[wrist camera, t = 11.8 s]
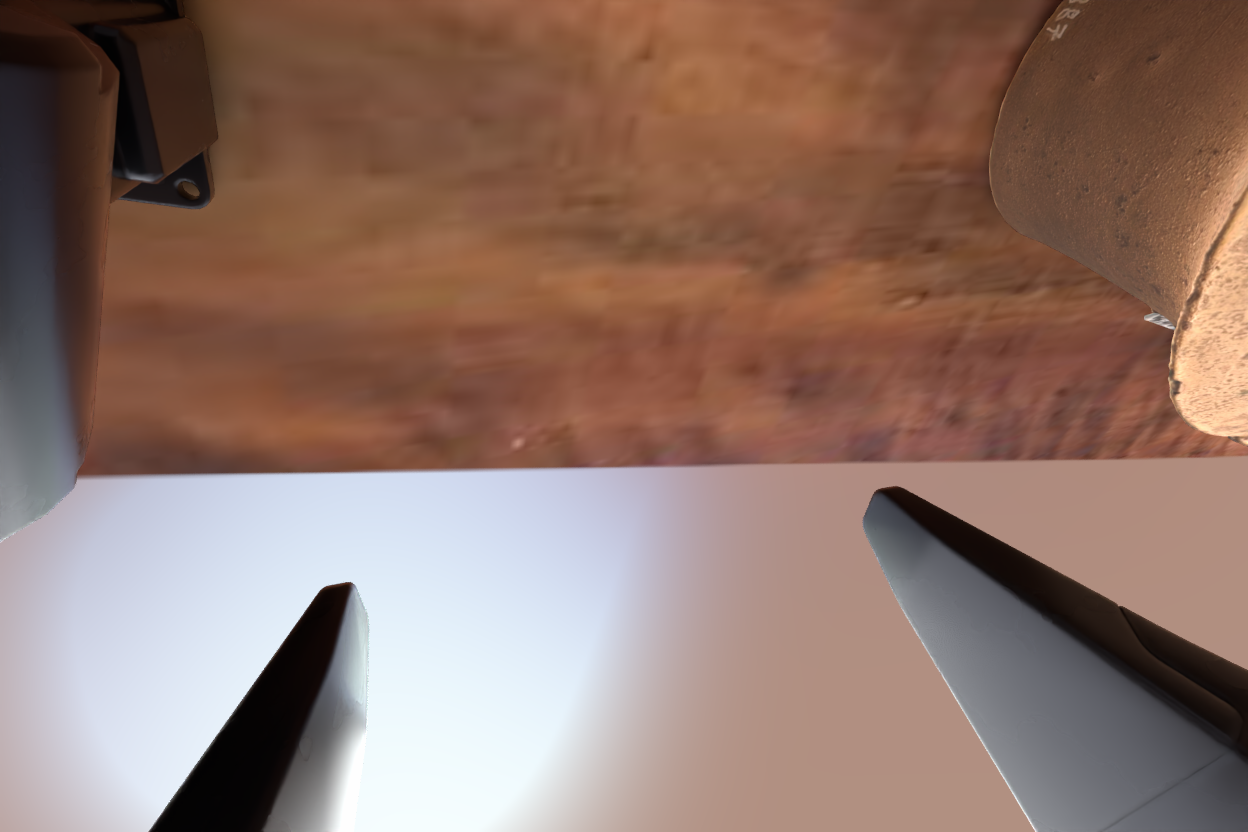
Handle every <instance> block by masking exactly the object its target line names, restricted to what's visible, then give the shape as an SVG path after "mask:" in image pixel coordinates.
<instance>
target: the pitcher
mask: <svg viewBox="0 0 1248 832" xmlns="http://www.w3.org/2000/svg"><path fill="white" fill-rule="evenodd" d="M989 168H990V169H989V175H990V186H991V190H992V195H993V197H994V201H995V204H996V207H997V208H998V210H999V212H1000V214H1001V215H1002V217H1003V218H1004V219H1005V221H1006V222H1007V223H1008V224H1009V225H1010V226H1011V227H1012V228H1013V229H1015V230H1016V231H1017V232H1019V233H1020V234H1022V235H1024V236H1026V237H1028V238H1031V239H1033V240H1037V241H1039V242H1041V243H1043V244H1045V245H1047V246H1049V247H1051V248H1053V249H1055V250H1057V251H1059V252H1061V253H1063V254H1065V255H1067V256H1068V257H1070V258H1072V259H1074V260H1076V261H1078V262H1079V263H1081V264H1082V265H1084V266H1086V267H1088V268H1089V269H1091V270H1092V271H1094V272H1096V273H1097V274H1099V275H1101V276H1102V277H1104V278H1106V279H1108V280H1109V281H1110V282H1112V283H1114V284H1115V285H1117V286H1118V287H1120V288H1122V289H1123V290H1125V291H1127V292H1128V293H1130V294H1131V295H1132V296H1134V297H1136V298H1138V299H1139V300H1141V301H1142V302H1144V303H1145V304H1147V305H1148V306H1149V307H1151V311H1152V312H1153V313H1158V314H1160V315H1162V316H1164V317H1165V318H1167V319H1168V320H1169V321H1170V322H1171V323H1172V324H1173V326H1174V327H1175V328H1176V329H1175V331H1174V335H1173V340H1172V343H1171V357H1170V360H1171V361H1170V363H1169V365H1168V366H1169V368H1170V369H1169V370H1170V372H1169V378H1168V380H1169V383H1170V397H1171V399H1172V401H1173V405H1174V406H1175V408H1176V410H1177V412H1178V414H1179V415H1180V417H1181V418H1182V419H1183V420H1184V421H1185V423H1186V424H1187V425H1188V426H1190V427H1191V428H1193V429H1196V430H1198V431H1200V432H1202V433H1207V434H1210V435H1217V436H1228V438H1229V439H1231V440H1233V441H1235V442H1237V443H1240V444H1242V445H1245V446H1248V0H1064V1H1063V2H1062V3H1061V4H1060V5H1059V6H1058V8H1057V9H1056V10H1055V12H1054V13H1053V15H1052V16H1051V17H1050V18H1049V19H1048V20H1047V22H1046V24H1045V26H1044V27H1043V29H1042V30H1041V31H1040V32H1039V34H1038V36H1037V37H1036V38H1035V40H1034V42H1033V43H1032V44H1031V46H1030V48H1029V49H1028V51H1027V52H1026V55H1025V56H1024V58H1023V60H1022V62H1021V64H1020V66H1019V68H1018V70H1017V72H1016V74H1015V77H1014V78H1013V80H1012V82H1011V84H1010V86H1009V88H1008V90H1007V92H1006V96H1005V98H1004V100H1003V102H1002V106H1001V109H1000V113H999V118H998V121H997V125H996V127H995V132H994V138H993V143H992V147H991V150H990V161H989Z"/></svg>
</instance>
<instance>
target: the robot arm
mask: <svg viewBox="0 0 1248 832" xmlns="http://www.w3.org/2000/svg"><path fill="white" fill-rule="evenodd" d="M217 139H218V132H217V126H216V119H215V113H214V107H213V100H212V94H211V88H210V82H209V75H208V69H207V63H206V57H205V50H204V44H203V38H202V33H201V31H200V30H199V29H198V28H197V26H196V25H195V24H194V23H193V22H192V21H191V20H190V19H189V18H185V14H184V9H183V3H182V0H0V542H2V541H3V540H5V539H7V538H8V537H10V536H12V535H13V534H15V533H17V532H18V531H20V530H22V529H23V528H25V527H27V526H28V525H30V524H32V523H33V522H35V521H37V520H38V519H40V518H42V517H43V516H45V515H47V514H48V513H49V512H50V511H51V510H52V509H53V508H54V507H55V506H56V505H57V504H58V503H59V502H60V501H61V500H62V499H63V498H64V497H65V496H66V495H67V494H69V492H71V491H72V490H73V489H74V487H75V484H76V480H77V471H78V469H79V468H80V466H81V465H82V464H83V462H84V459H85V455H86V451H87V447H88V443H89V439H90V435H91V431H92V428H93V417H94V404H95V391H96V378H97V365H98V352H99V338H100V325H101V312H102V299H103V286H104V273H105V260H106V246H107V233H108V220H109V207H110V204H111V203H112V202H114V201H115V200H117V199H120V200H128V201H135V202H143V203H150V204H158V205H165V206H173V207H180V208H188V209H201V208H203V207H205V206H207V205H208V204H209V203H210V202H211V200H212V199H213V197H214V184H213V178H212V172H211V166H210V160H209V154H208V149H207V148H208V147H209V146H210V145H212V144H213V143H214V142H215V141H216V140H217ZM182 181H188V182H191V183H193V184H194V185H195V186H196V187H197V188H198V190H199V192H200V194H199V196H193V195H190V194H189V193H187V192H186V191H185V190H184V188H183V186H182ZM863 528H864V532H865V534H866V536H867V538H868V540H869V543H870V544H871V547H872V549H873V551H874V553H875V555H876V557H877V559H878V561H879V564H880V566H881V568H882V570H883V572H884V574H885V576H886V578H887V580H888V582H889V585H890V587H891V589H892V591H893V593H894V595H895V597H896V599H897V600H898V603H899V605H900V606H901V608H902V610H903V612H904V613H905V615H906V617H907V619H908V620H909V622H910V624H911V625H912V627H913V629H914V630H915V632H916V634H917V635H918V637H919V638H920V640H921V642H922V643H923V645H924V647H925V648H926V650H927V652H928V653H929V655H930V656H931V658H932V660H933V662H934V663H935V665H936V667H937V668H938V670H939V672H940V673H941V675H942V677H943V678H944V680H945V682H946V683H947V685H948V687H949V688H950V690H951V691H952V693H953V695H954V697H955V698H956V700H957V702H958V703H959V705H960V707H961V708H962V710H963V712H964V713H965V715H966V717H967V718H968V720H969V721H970V723H971V725H972V726H973V728H974V730H975V732H976V733H977V735H978V737H979V738H980V740H981V742H982V743H983V745H984V747H985V748H986V750H987V752H988V753H989V755H990V756H991V758H992V760H993V761H994V763H995V765H996V766H997V768H998V770H999V771H1000V773H1001V775H1002V776H1003V778H1004V780H1005V781H1006V783H1007V785H1008V786H1009V788H1010V790H1011V791H1012V793H1013V795H1014V796H1015V798H1016V800H1017V801H1018V803H1019V805H1020V806H1021V808H1022V810H1023V811H1024V813H1025V815H1026V816H1027V818H1028V820H1029V821H1030V823H1031V825H1032V826H1033V828H1034V830H1035V831H1036V832H1248V670H1247V669H1244V668H1242V667H1240V666H1238V665H1236V664H1234V663H1232V662H1230V661H1228V660H1226V659H1224V658H1222V657H1220V656H1218V655H1215V654H1214V653H1212V652H1209V651H1207V650H1205V649H1203V648H1201V647H1199V646H1197V645H1195V644H1193V643H1191V642H1189V641H1187V640H1185V639H1183V638H1181V637H1179V636H1178V635H1176V634H1174V633H1172V632H1170V631H1168V630H1166V629H1164V628H1162V627H1160V626H1158V625H1156V624H1154V623H1153V622H1151V621H1149V620H1147V619H1145V618H1143V617H1141V616H1139V615H1137V614H1136V613H1134V612H1132V611H1130V610H1128V609H1127V608H1125V607H1123V606H1118V605H1117V604H1116V603H1115V602H1113V601H1111V600H1109V599H1108V598H1106V597H1104V596H1102V595H1100V594H1098V593H1096V592H1095V591H1093V590H1091V589H1089V588H1087V587H1085V586H1084V585H1082V584H1080V583H1078V582H1076V581H1074V580H1072V579H1071V578H1069V577H1067V576H1065V575H1063V574H1061V573H1059V572H1058V571H1055V570H1054V569H1052V568H1050V567H1048V566H1046V565H1045V564H1043V563H1040V562H1039V561H1037V560H1035V559H1033V558H1032V557H1030V556H1028V555H1026V554H1024V553H1022V552H1021V551H1019V550H1017V549H1015V548H1013V547H1011V546H1009V545H1008V544H1006V543H1004V542H1002V541H1000V540H998V539H996V538H994V537H993V536H991V535H989V534H987V533H985V532H983V531H982V530H980V529H978V528H976V527H974V526H972V525H970V524H969V523H967V522H965V521H963V520H961V519H959V518H957V517H956V516H954V515H952V514H950V513H948V512H946V511H944V510H943V509H941V508H939V507H937V506H935V505H933V504H931V503H930V502H928V501H926V500H924V499H922V498H920V497H918V496H917V495H915V494H913V493H911V492H909V491H907V490H905V489H903V488H901V487H898V486H893V487H887V488H881V489H878V490H877V491H876V492H874V494H873V496H872V498H871V501H870V503H869V506H868V508H867V510H866V513H865V515H864V518H863ZM368 654H369V620H368V615H367V612H366V609H365V607H364V605H363V602H362V600H361V598H360V595H359V593H358V590H357V588H356V586H355V585H354V584H353V583H351V582H346V583H340V584H335V585H329V586H326V587H324V588H323V589H321V590H320V591H319V593H318V594H317V596H316V597H315V598H314V600H313V601H312V602H311V604H310V605H309V607H308V608H307V610H306V611H305V612H304V614H303V615H302V616H301V618H300V620H299V621H298V622H297V623H296V625H295V626H294V628H293V629H292V631H291V632H290V633H289V635H288V636H287V638H286V639H285V641H284V642H283V643H282V645H281V646H280V648H279V649H278V650H277V652H276V653H275V654H274V656H273V657H272V659H271V660H270V661H269V663H268V664H267V666H266V667H265V668H264V670H263V671H262V673H261V674H260V675H259V677H258V678H257V680H256V681H255V682H254V684H253V685H252V687H251V688H250V690H249V691H248V692H247V694H246V695H245V697H244V698H243V699H242V701H241V702H240V704H239V705H238V706H237V708H236V709H235V711H234V712H233V714H232V715H231V716H230V718H229V719H228V720H227V722H226V723H225V725H224V726H223V727H222V729H221V730H220V732H219V733H218V734H217V736H216V737H215V739H214V740H213V742H212V743H211V744H210V746H209V747H208V749H207V750H206V751H205V753H204V754H203V756H202V757H201V758H200V760H199V761H198V763H197V764H196V765H195V767H194V768H193V770H192V771H191V772H190V774H189V775H188V777H187V778H186V779H185V781H184V782H183V784H182V785H181V786H180V788H179V789H178V791H177V792H176V794H175V795H174V796H173V798H172V799H171V800H170V802H169V803H168V805H167V806H166V807H165V809H164V811H163V812H162V813H161V815H160V816H159V817H158V819H157V820H156V822H155V823H154V824H153V826H152V827H151V829H150V830H149V831H148V832H353V829H354V822H355V814H356V807H357V800H358V792H359V785H360V777H361V770H362V763H363V755H364V748H365V740H366V730H367V710H368V657H369V656H368Z"/></svg>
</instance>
